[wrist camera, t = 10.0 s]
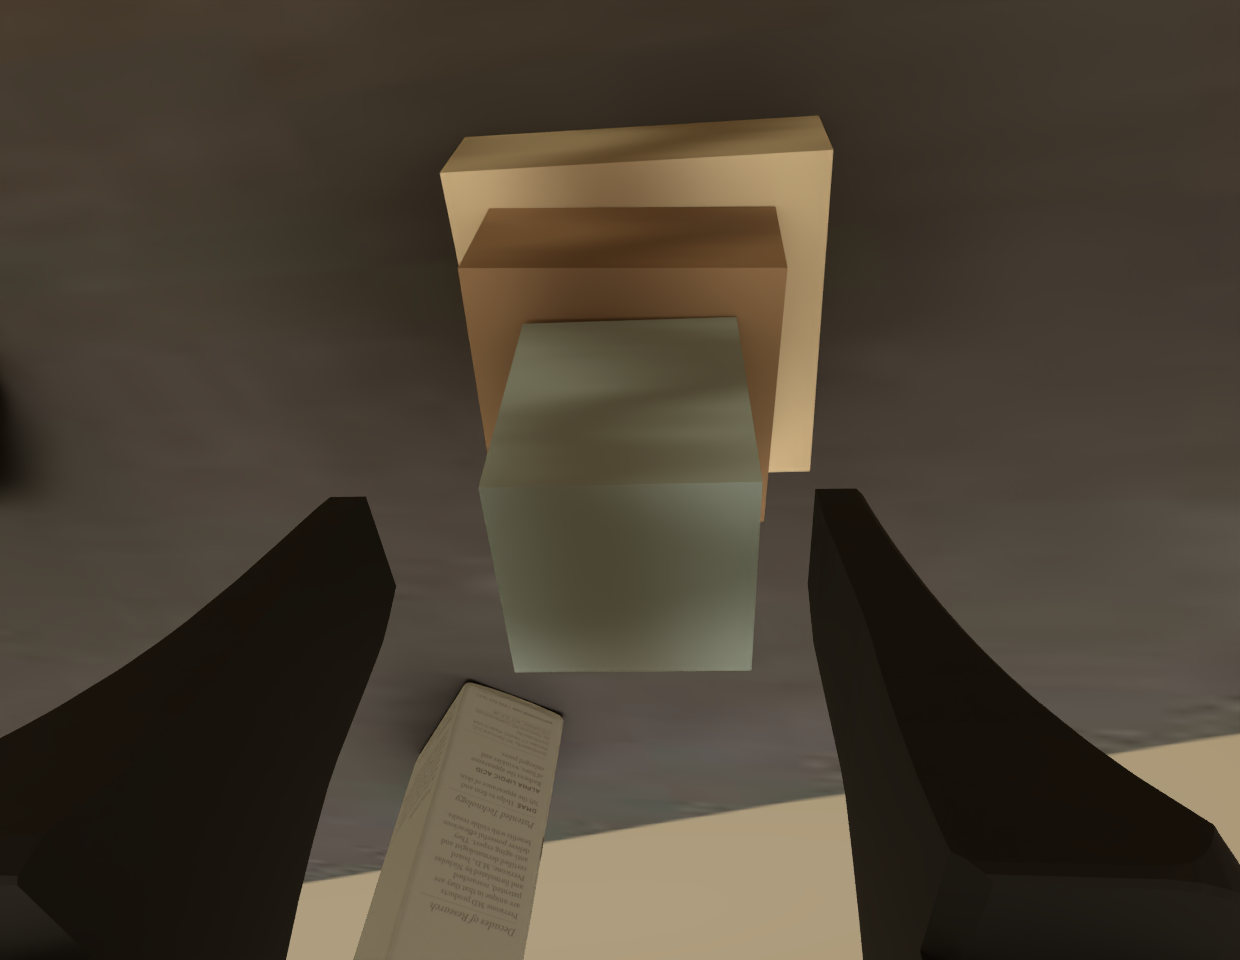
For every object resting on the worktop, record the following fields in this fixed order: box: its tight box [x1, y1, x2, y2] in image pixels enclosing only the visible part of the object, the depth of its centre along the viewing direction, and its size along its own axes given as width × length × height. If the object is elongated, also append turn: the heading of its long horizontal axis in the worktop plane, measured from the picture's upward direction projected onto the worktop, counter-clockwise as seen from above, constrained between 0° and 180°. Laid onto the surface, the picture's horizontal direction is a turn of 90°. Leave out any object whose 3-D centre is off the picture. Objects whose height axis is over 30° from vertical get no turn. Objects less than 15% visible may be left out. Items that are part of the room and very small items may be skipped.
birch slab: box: [440, 115, 833, 472], centre depth 21 cm, size 8×8×3 cm
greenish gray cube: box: [478, 317, 763, 672], centre depth 15 cm, size 4×4×5 cm
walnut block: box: [458, 207, 788, 522], centre depth 18 cm, size 6×6×3 cm
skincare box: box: [353, 683, 564, 960], centre depth 29 cm, size 6×4×12 cm
